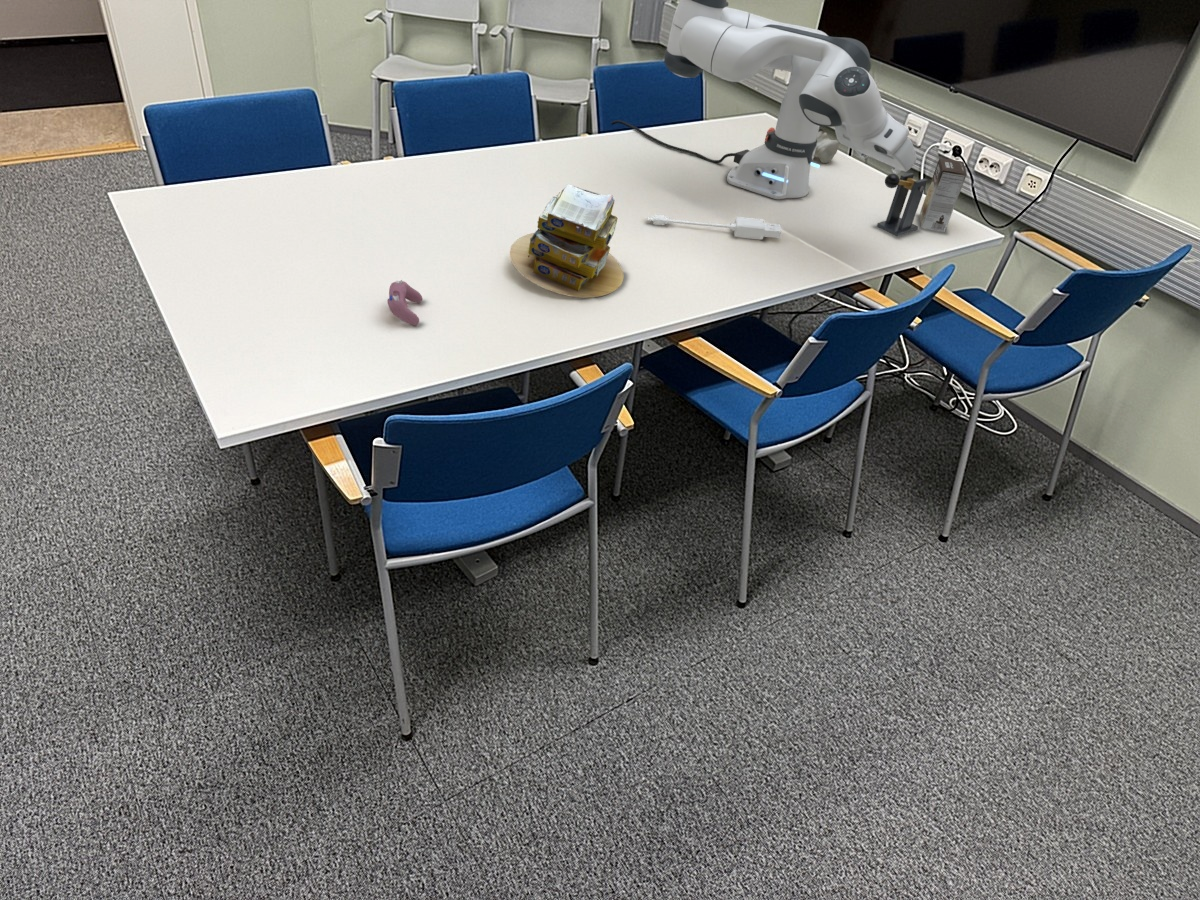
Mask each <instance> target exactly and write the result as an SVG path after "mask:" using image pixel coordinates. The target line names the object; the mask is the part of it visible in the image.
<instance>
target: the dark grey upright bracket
mask: <svg viewBox="0 0 1200 900" xmlns="http://www.w3.org/2000/svg"><path fill="white" fill-rule="evenodd" d="M914 176H915V173H913V172H908V173H904V174H901V175H900V177H899V179H900V180H904V181H907V179H908V178H912V179H914ZM916 180H917V181H914V183H913V186H912V189H911V190H909V189H907V188H904V186H903V185H897V186H896V189H895V193H894V195H893V198H892V201H891V205H890V207H889V210H888V213H887V217H886V220H884V221H880V222H877V224H876V227H878V228H879V229H881V230H883V231H885V232H887V233H889V234H891V235H893V236H895V237H900V236H902V235H906V234H909V233H911V232H915V231H917V230H919V225H916V224H915V223H913V222H914V220H915V216H916V214H917V211H918V208H919V205H920V203H921V200H922V197H923V194H924V192H925V189H926V186H927V184H928V179H926V178H920V179H916ZM909 191H910V193H909ZM908 194H909V195H908ZM907 197H908V198H907ZM906 200H907V201H906ZM905 203H906V204H905ZM904 205H905V207H904ZM903 208H904V209H903ZM902 211H903V213H902ZM901 214H902V215H901Z"/></svg>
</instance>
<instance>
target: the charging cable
mask: <svg viewBox="0 0 1200 900" xmlns="http://www.w3.org/2000/svg"><path fill="white" fill-rule="evenodd" d="M646 220H647V222H653V225H655V226H665V224H666V225H670V223H671V224H680V225H682V224H683V225H692V226H704V227H712V228H713V227H714V228H726V229H729V231H733V235H734V238H739V239H750V240H762V241H763V239H764V238H765V237H766V238H777V239H781V236H782V232H783V231H782V228H781V227H782V226H781V224H780V223H769V222H765V219H763V218H752V217H743V216H742V217H741V216H735V219H734V223H733V222H730V224H725V223H724V224H723V223H714V222H702V221H692V220H681V219H671V217H666V215H665V214H664V215H662V214H653V216H647V219H646Z"/></svg>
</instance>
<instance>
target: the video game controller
mask: <svg viewBox="0 0 1200 900" xmlns="http://www.w3.org/2000/svg"><path fill="white" fill-rule="evenodd" d="M407 301H409V302H412V303H415V304H420V303H422V301H423V295H422V294H421V293H420V292H419V291H418V290H417V289H415V288H414V287H412V286H410V285H409V284H408V283H407V282H406V281H404V280H402V279H401V280H395V281H394V282H391V284H390V286H389V288H388V298H387V305H388V308H389V310H390V312H391V314H392V315H393V316H396V317H397V318H398V319H399V320H401V321H402V322H404V323H406V324H408V325H410V326H417V325H419V323H420V318H419V316H418V315H417V314H416V313H414V312H413V311H412V310H411V309H409V306H408V305H409V303H408V302H407Z"/></svg>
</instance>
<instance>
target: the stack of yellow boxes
mask: <svg viewBox="0 0 1200 900" xmlns="http://www.w3.org/2000/svg"><path fill="white" fill-rule="evenodd" d="M615 202H616V201H615V198H614V196H613V194H610V193H609V194H600V193H597V192H594V191H590V190H587V189H584V188H580V187H579V186H575V185H572V184H569V183H568V184H566V185H565V186H564V188H563V189H562V190H561V191H559V192H558V193H557V195H556V196H552V198H551V199H550V201H549V202H548V203H547V204H546V206H545V208H544V209H543V211H542V212H541V214H540V215H539V216H538V220H537V226H536V227H537V230H535V232H531V233H529V234H524V235H522V236H521V237H519V238H518V239H516V240H515V241H514V242H513V243H512V244H511V246H510V249H509V257H510V260H511V263H512V265H513V267H514V268H515V269H516V270H517V272H519V274H520V275H521V276H523V277H524V278H526V279H527V280H528V281H530V282H531V283H533V284H534V285H536V286H538V287H540V288H542V289H545V290H547V291H550V292H552V293H556V294H559V295H564V296H567V297H568V296H569V297H575V298H598V297H603V296H605V295H609V294H611V293H613V292H615V291H616V290H618V289H619V288H620V287H621V286H622V284H623V281H624V277H625V274H624V270H623V267H622V266H621V264H620V262H619V261H618V259H617V258H616V257H615V256H614V255H613V254H611V252H610V251H611V247H610V246H609V244H610V243H611V240H612V239H613V236H614V234H615V231H616V228H617V227H616V226H617V222H618V220H619V219H618V216H617V215H613V214H612V213H613V209H614V205H615Z"/></svg>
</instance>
